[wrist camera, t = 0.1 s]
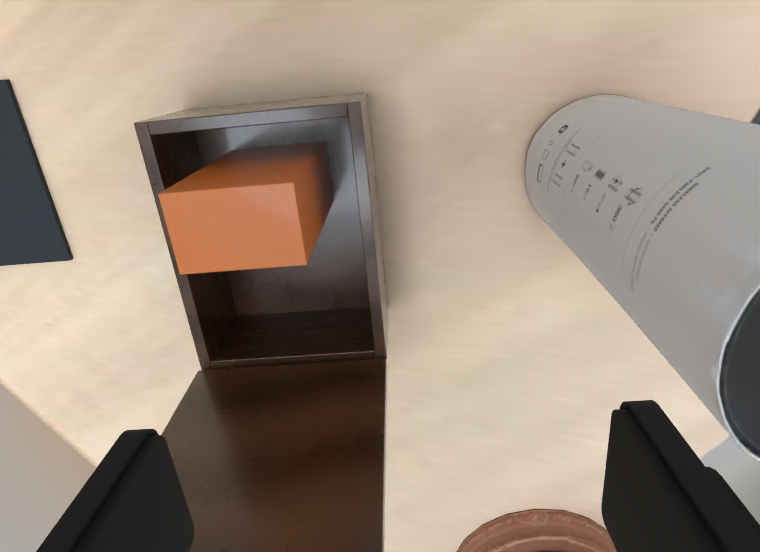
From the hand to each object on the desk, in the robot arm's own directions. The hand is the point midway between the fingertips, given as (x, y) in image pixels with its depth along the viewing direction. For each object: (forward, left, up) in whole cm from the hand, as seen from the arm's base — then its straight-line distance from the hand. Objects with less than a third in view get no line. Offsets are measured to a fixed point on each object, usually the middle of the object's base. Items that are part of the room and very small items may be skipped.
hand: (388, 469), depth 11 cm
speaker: (+1, +15, -31) cm, 34 cm away
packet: (0, -8, -30) cm, 31 cm away
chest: (+3, -8, -31) cm, 32 cm away
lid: (+12, -8, -13) cm, 19 cm away
